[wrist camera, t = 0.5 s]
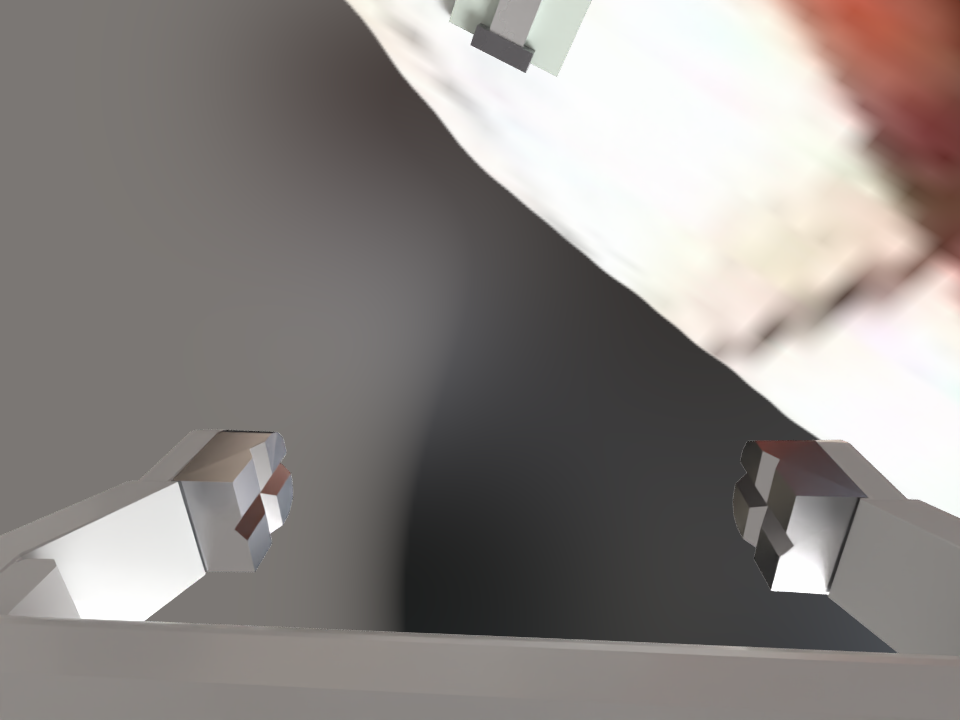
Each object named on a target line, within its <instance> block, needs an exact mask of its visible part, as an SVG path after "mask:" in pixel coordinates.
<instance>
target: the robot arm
mask: <svg viewBox="0 0 960 720" xmlns="http://www.w3.org/2000/svg"><path fill="white" fill-rule="evenodd" d="M286 453H287V452H286V448H285V443H284V439H283V437H282V436H281V435H280V434H279V433H278V432H270V431H269V432H268V431H243V430H221V429H212V430H211V429H204V430H203V429H200V430H194V431H191V432H190V433H189V434H188V435H187V436H186V437H185V438H183V439H182V440H181V441H180V442H179V443H178V444H177V445H176V446H175V447H174V448H173V449H172V450H171V451H170V452H169V453H167V455H165V456H164V457H163V458H162V459H161V460H160V461H159V462H158V463H157V464H156V465H155V466H154V467H153V468H152V469H150V470H149V471H148V472H147V473H146V474H145V475H144V476H143V477H142V478H141V479H140V480H139V481H128V482H125V483H123V484H121V485H118V486H116V487H114V488H111V489H109V490H107V491H104V492H102V493H99V494H97V495H95V496H92V497H90V498H88V499H86V500H83V501H81V502H79V503H76V504H74V505H71V506H69V507H67V508H64V509H62V510H60V511H57V512H55V513H52V514H50V515H48V516H46V517H43V518H41V519H38V520H36V521H34V522H31V523H29V524H27V525H25V526H22V527H20V528H18V529H15V530H13V531H10V532H8V533H6V534H3V535H1V536H0V720H960V518H958V517H956V516H954V515H951V514H949V513H947V512H945V511H942V510H940V509H938V508H936V507H934V506H931V505H929V504H927V503H925V502H922V501H920V500H911V499H907V498H906V497H905V496H904V495H903V494H902V493H901V492H900V491H899V490H897V489H896V488H895V487H894V486H893V485H892V484H891V483H890V482H889V481H888V480H887V479H886V478H885V477H884V476H883V475H882V474H881V473H880V472H879V471H878V470H877V469H876V468H875V467H874V466H873V465H872V464H871V463H870V462H868V461H867V460H866V459H865V458H864V457H863V456H862V455H861V454H860V453H859V452H858V451H857V450H856V449H855V448H854V447H853V446H852V445H851V444H850V443H848V442H845V441H843V440H807V441H747V443H746V444H745V446H744V448H743V451H742V455H741V460H740V462H741V464H742V466H743V467H744V469H745V470H746V472H747V473H746V474H745V475H744V476H743V477H742V478H741V479H740V480H739V481H738V482H737V483H736V484H735V489H734V495H733V512H734V518H735V521H736V525H737V528H738V530H739V532H740V534H741V536H742V538H743V539H744V540H746V541H748V542H749V543H750V544H752V545H753V546H755V547H756V550H755V555H754V560H755V562H756V564H757V565H758V568H759V569H760V571H761V573H762V575H763V577H764V578H765V580H766V582H767V584H768V586H769V588H770V590H771V591H787V592H804V593H819V594H829V595H828V597H829V598H830V599H832V600H833V601H834V602H836V603H837V604H838V605H839V606H841V607H842V608H843V609H844V610H845V611H847V612H848V613H849V614H850V615H852V616H853V617H854V618H855V619H857V620H858V621H859V622H860V623H862V624H863V625H864V626H865V627H867V628H868V629H869V630H870V631H872V632H873V633H874V634H875V635H877V636H878V637H879V638H880V639H881V640H883V641H884V642H885V643H886V644H888V645H889V646H890V647H891V648H893V649H894V650H895V651H896V652H898V653H874V652H851V651H829V650H804V649H783V648H760V647H758V648H757V647H735V646H714V645H713V646H712V645H691V644H667V643H644V642H620V641H597V640H575V639H573V640H572V639H549V638H525V637H500V636H476V635H453V634H452V635H450V634H429V633H428V634H427V633H405V632H404V633H403V632H382V631H359V630H336V629H313V628H290V627H266V626H244V625H220V624H196V623H173V622H151V621H145V620H146V619H147V618H148V617H150V616H151V615H152V614H154V613H155V612H156V611H158V610H159V609H160V608H161V607H163V606H164V605H166V604H167V603H168V602H170V601H171V600H172V599H174V598H175V597H176V596H177V595H179V594H180V593H181V592H183V591H184V590H185V589H187V588H188V587H189V586H191V585H192V584H193V583H195V582H196V581H197V580H199V579H200V578H201V577H203V576H204V575H205V572H256V570H257V568H258V566H259V565H260V563H261V561H262V560H263V558H264V556H265V554H266V553H267V551H268V550H269V548H270V546H271V544H272V540H271V535H270V533H271V532H273V531H274V530H276V529H277V528H279V527H280V526H282V525H283V524H284V522H285V520H286V518H287V516H288V515H289V512H290V508H291V504H292V500H293V482H292V477H291V473H290V472H289V471H288V470H287V469H286V468H285V467H284V466H283V465H282V464H281V461H282V460H283V458H284V456H285V455H286Z"/></svg>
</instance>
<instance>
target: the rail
mask: <svg viewBox="0 0 960 720" xmlns="http://www.w3.org/2000/svg"><path fill="white" fill-rule="evenodd" d="M542 1H543V0H500V1H499V4H498V7H497V10H496V13H495V15H494V18H493V21H492V24H491V27H488V26H486V25H484V24H482V23H480V24H478V25H477V27H476V30H475V33H474V36H473V39H472V42H471V45H472V46H474V47H476V48H478V49H480V50H482V51H483V52H485V53H487V54H489V55H491V56H493V57H495V58H497V59H499V60H501V61H503V62H505V63H507V64H509V65H511V66H513V67H515V68H517V69H519V70H521V71H523V72H525V73H526V71H527V70H528V68H529V65H530V63H531V60H532V58H533V56H534V53H535V50H533V49H531V48H529V47H527V46H525V43H526V41H527V38H528V36H529V33H530V31H531V28H532V26H533V23H534V21H535V18H536V16H537V13H538V11H539V8H540V6H541V3H542Z"/></svg>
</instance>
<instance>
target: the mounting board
mask: <svg viewBox="0 0 960 720" xmlns="http://www.w3.org/2000/svg"><path fill="white" fill-rule="evenodd" d="M499 1H500V0H456V1H455V4H454V7H453V10H452V14H451V17H450V20H449V22H451V23H453V24H455V25H456V26H458V27H460V28H462V29H464V30H466V31H468V32H470V33H472V34H474V33H475V30H476V27H477V25H478V24H480V23H482V24H484V25H486V26H488V27H491V24H492V21H493V18H494V15H495V13H496V10H497V7H498V4H499ZM591 1H592V0H543V1H542V3H541V6H540V8H539V11H538V13H537V16H536V18H535V21H534V23H533V26H532V28H531V31H530V33H529V36H528V38H527V41H526V43H525V46H527V47H529V48H531V49H533V50H535V53H534V56H533V58H532V60H531V64H533V65H535V66H537V67H539V68H541V69H543V70H545V71H547V72H549V73H550V74H552V75H554V76H556V77H557V75H558V73H559V71H560V69H561V67H562V64H563V62H564V60H565V58H566V56H567V53H568V51H569V49H570V47H571V45H572V42H573V40H574V38H575V36H576V34H577V31H578V29H579V27H580V25H581V23H582V20H583V18H584V16H585V14H586V12H587V9H588V7H589V5H590V3H591Z"/></svg>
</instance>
